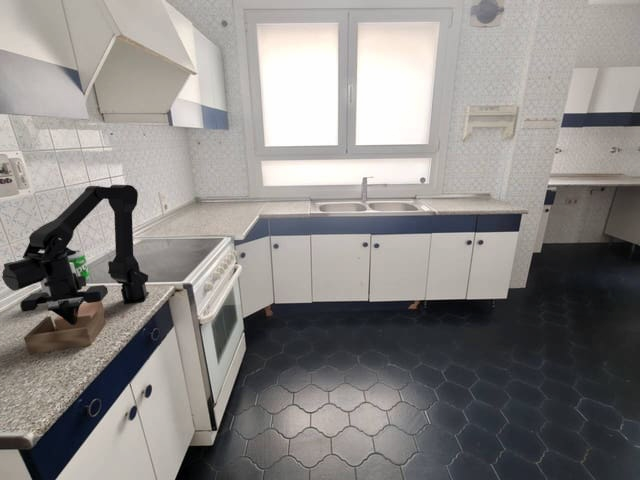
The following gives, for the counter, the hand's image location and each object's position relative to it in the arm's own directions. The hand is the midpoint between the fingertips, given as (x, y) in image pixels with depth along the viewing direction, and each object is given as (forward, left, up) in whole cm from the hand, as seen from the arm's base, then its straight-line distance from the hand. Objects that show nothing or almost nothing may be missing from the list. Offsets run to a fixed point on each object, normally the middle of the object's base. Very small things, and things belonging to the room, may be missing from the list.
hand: (74, 324), depth 89 cm
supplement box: (+14, -25, -3) cm, 28 cm away
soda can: (+16, -41, -3) cm, 44 cm away
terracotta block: (+1, -6, -3) cm, 6 cm away
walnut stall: (0, +3, -2) cm, 4 cm away
